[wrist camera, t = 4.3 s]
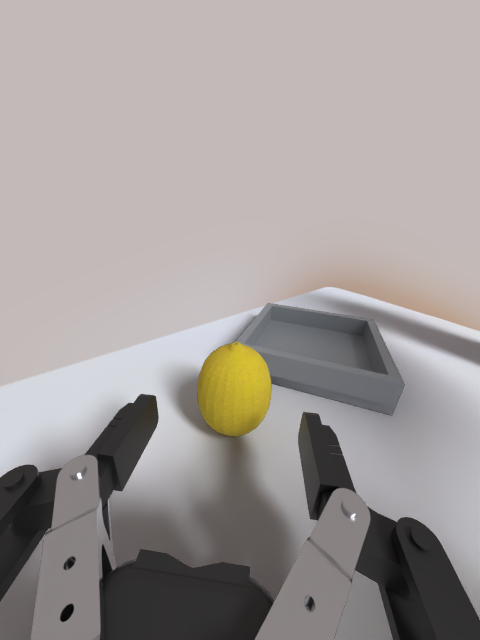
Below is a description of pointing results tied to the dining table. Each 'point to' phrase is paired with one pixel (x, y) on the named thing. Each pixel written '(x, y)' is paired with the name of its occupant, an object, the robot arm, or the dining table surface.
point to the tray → (326, 356)
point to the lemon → (234, 389)
